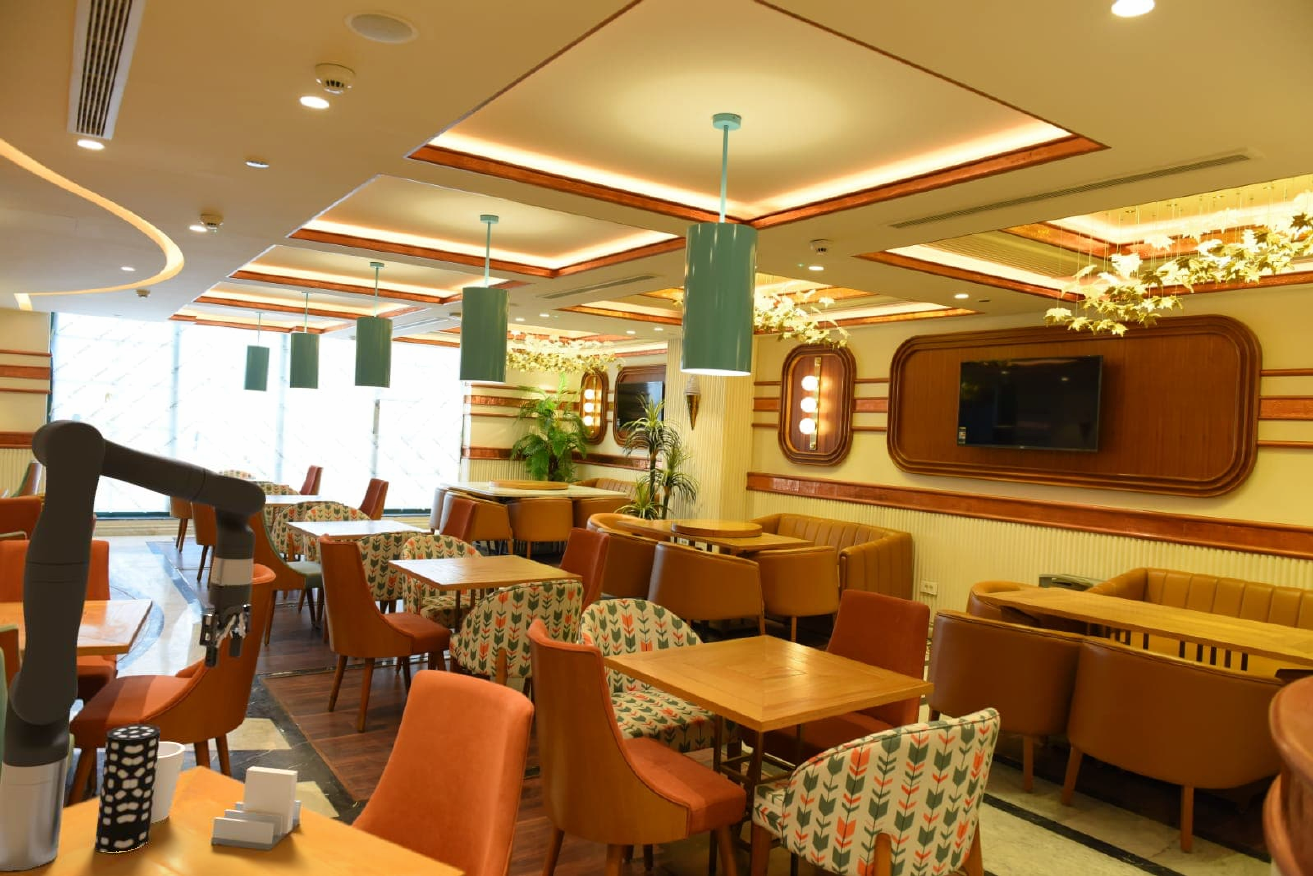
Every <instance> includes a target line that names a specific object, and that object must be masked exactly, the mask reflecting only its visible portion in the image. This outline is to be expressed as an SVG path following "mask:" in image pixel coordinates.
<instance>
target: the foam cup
mask: <svg viewBox="0 0 1313 876" xmlns="http://www.w3.org/2000/svg"><path fill="white" fill-rule="evenodd" d="M185 750H186V749H185V745H183V744H181V743H179V742H173V741H159V748H158V758H157V767H156V776H155V786H154V795H153V805H152V814H151V823H153V824H156V823H155V822H158V821H161V820H163V819H165V820H167V819H168V818H169V817H168V816H170V815H169V814H170V813H171V809H172V805H173V800H174V796H175V792H176V788H177V783H178V780H179V776H180V772H181V768H182V763H183V762H184V759H185ZM167 817H168V818H167ZM166 818H167V819H166ZM163 821H164V820H163ZM161 822H162V821H161ZM151 823H150V825H152V824H151ZM158 823H159V822H158Z"/></svg>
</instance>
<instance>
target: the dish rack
mask: <svg viewBox="0 0 1313 876" xmlns="http://www.w3.org/2000/svg"><path fill="white" fill-rule="evenodd" d="M301 804H302V800H297V799H295V804H294V814H293V824H292V830H294V829H295V828H296V827H297V826H298V825H299V824H300V821H301V820H300V819H301V818H300V813H301V806H302V805H301ZM282 825H283V816H282V815H273V814H264V813H256V812H247V811H243V802H242V801H236V802H235V803H234V809H228V808H227V809H226V810H224V817H218V816H216V817H214V820H213V829H212V837H211V839H210V844H211V843H213V844H212V845H218V844H221V845H220V846H228V847H237V848H243V849H244V848H246V849H254V850H261V851H262V850H264V851H270V850H272V849H273V847H275V846H276V845H277V844H278V843H279V842H280V841H281V840H283V839H284V838H285V837H286V836H287V835H288V834H289V833H290V832H291V831H292V830H290V831H289V832H288V833H282ZM215 843H216V844H215Z"/></svg>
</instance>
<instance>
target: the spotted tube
mask: <svg viewBox="0 0 1313 876" xmlns="http://www.w3.org/2000/svg"><path fill="white" fill-rule="evenodd" d="M160 735H161V728H160V727H158V726H154V725H150V724H132V725H130V724H129V725H123V726H118V727H115V728H113V729H110V730H109V731H108V732H107V733H106V740H105V748H104V749H105V750H104V758H103V768H102V777H101V778H102V779H101V787H100V796H99V805H98V806H99V807H98V814H97V823H96V832H95V833H96V834H95V843H94V849H95V848H96V849H97V850H98V851H97V850H96V849H95V850H96V851H97V852H99V851H104V852H116V851H117V852H119V851H128V850H131V849H135V848H137V847H141V848H143V847H144V846H143V845H144V844H146V842H148V843H149V841H150V830H151V824H150V823H151V814H152V805H153V795H154V786H155V776H156V767H157V758H158V748H159V742H160V739H161V736H160ZM148 840H149V841H148ZM146 845H147V844H146ZM142 846H143V847H142Z"/></svg>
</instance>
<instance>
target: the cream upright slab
mask: <svg viewBox="0 0 1313 876" xmlns="http://www.w3.org/2000/svg"><path fill="white" fill-rule="evenodd" d="M298 773H299V772H298V770H292V769H291V770H290V769H281V768H280V769H279V768H272V767H263V766H262V767H261V766H254V765H253V766H250V767H249V768H247V769H246V774H245V782H244V783H245V784H244V793H243V802H242V803H243V811H247V812H256V813H264V814H273V815H282V816H283V825H282V833H288V832H289V831H290V830H291V831H292V830H293V829H292V824H293V814H294V804H295V800H296V793H297V792H296V791H297V783H298V782H297V781H298ZM291 831H290V832H291ZM290 832H289V833H290ZM289 833H288V834H289Z"/></svg>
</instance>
